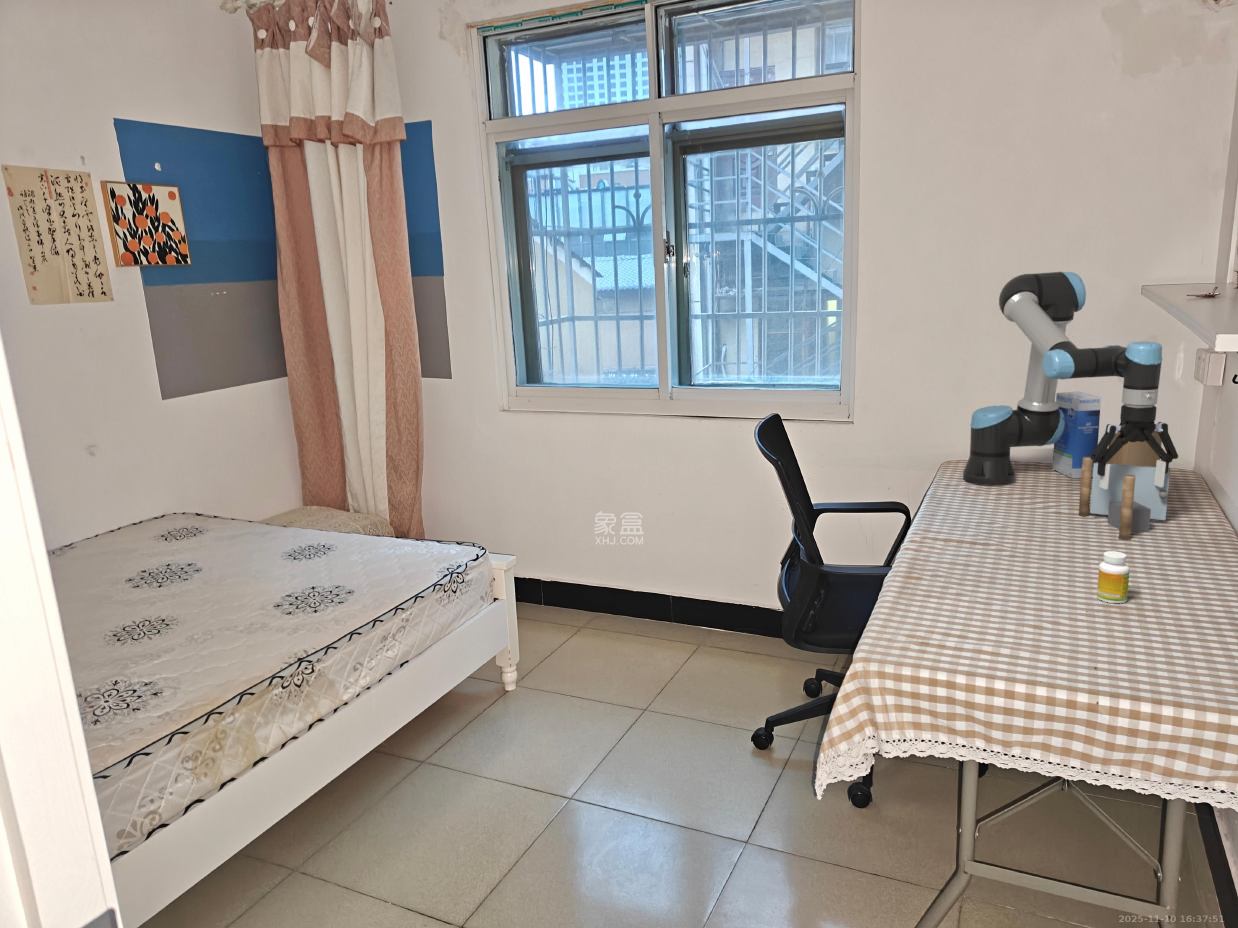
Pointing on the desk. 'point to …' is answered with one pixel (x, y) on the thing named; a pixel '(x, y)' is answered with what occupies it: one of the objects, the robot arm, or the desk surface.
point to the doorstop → (1138, 516)
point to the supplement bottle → (1113, 578)
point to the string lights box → (1076, 432)
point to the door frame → (1126, 498)
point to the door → (1143, 489)
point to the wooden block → (1136, 453)
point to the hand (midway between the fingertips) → (1131, 487)
